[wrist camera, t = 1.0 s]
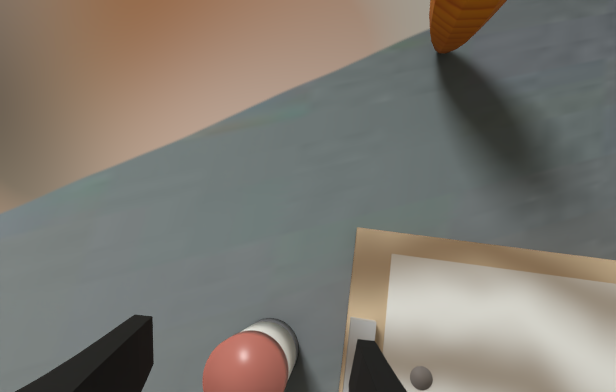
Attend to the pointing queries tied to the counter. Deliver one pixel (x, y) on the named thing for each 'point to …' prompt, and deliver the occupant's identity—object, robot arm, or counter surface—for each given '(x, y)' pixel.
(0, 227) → the counter surface
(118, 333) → the robot arm
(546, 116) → the counter surface
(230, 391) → the marker
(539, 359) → the clipboard
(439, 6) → the carrot
